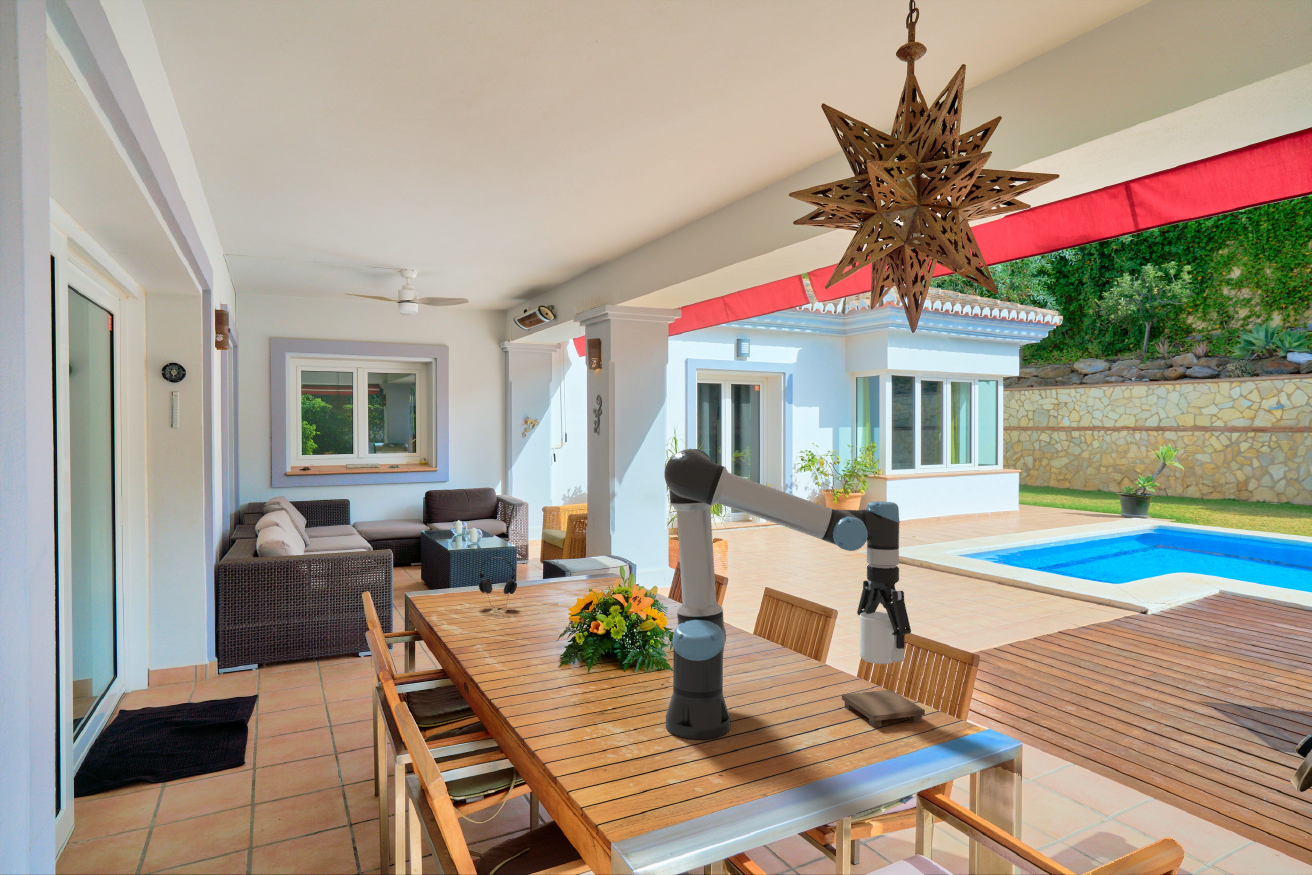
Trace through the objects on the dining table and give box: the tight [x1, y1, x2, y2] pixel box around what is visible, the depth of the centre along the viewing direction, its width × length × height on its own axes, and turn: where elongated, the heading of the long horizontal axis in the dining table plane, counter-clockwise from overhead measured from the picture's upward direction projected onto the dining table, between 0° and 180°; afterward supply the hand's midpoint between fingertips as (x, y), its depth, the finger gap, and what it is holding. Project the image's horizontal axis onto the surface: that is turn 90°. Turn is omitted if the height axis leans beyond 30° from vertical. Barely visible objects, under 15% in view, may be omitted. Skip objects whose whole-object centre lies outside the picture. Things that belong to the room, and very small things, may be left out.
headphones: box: [478, 556, 518, 614], centre depth 277 cm, size 15×11×20 cm
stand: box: [841, 689, 926, 729], centre depth 175 cm, size 14×14×3 cm
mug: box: [859, 611, 894, 665], centre depth 175 cm, size 9×12×11 cm
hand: (882, 653), depth 175 cm, fingers closed on mug, 12 cm apart
